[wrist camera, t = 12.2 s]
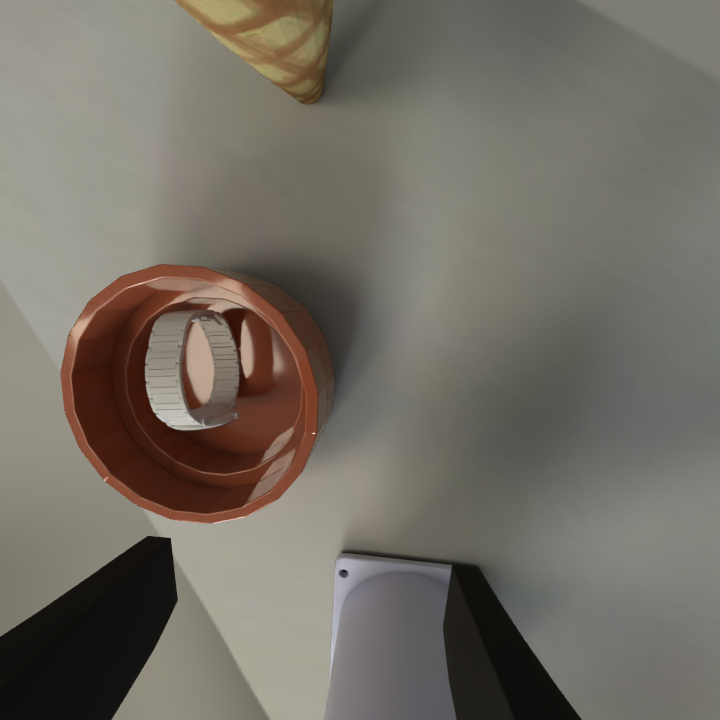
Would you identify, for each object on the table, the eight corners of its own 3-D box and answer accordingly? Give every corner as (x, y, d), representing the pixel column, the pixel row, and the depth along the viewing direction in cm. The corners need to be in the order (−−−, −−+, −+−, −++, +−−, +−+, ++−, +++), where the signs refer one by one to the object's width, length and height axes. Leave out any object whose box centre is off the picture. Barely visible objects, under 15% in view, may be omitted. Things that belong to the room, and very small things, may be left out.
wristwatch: (207, 406, 18) (139, 447, 13) (194, 310, 17) (115, 315, 12) (261, 404, 18) (211, 446, 13) (250, 306, 17) (192, 310, 12)
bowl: (331, 479, 19) (313, 536, 14) (146, 461, 19) (74, 509, 15) (340, 279, 17) (323, 272, 12) (134, 268, 17) (47, 258, 13)
